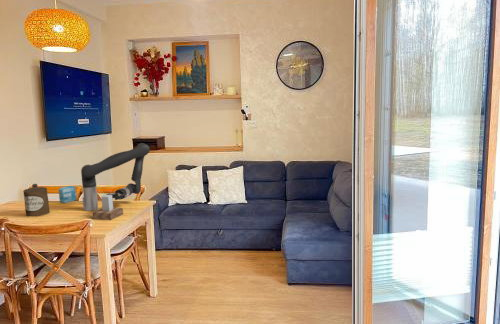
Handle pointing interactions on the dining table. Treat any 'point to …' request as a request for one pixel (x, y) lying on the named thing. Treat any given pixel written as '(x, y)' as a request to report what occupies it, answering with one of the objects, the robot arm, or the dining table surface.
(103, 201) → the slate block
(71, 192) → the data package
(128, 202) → the dining table surface
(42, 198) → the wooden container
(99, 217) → the walnut block
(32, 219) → the dining table surface
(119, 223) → the dining table surface
